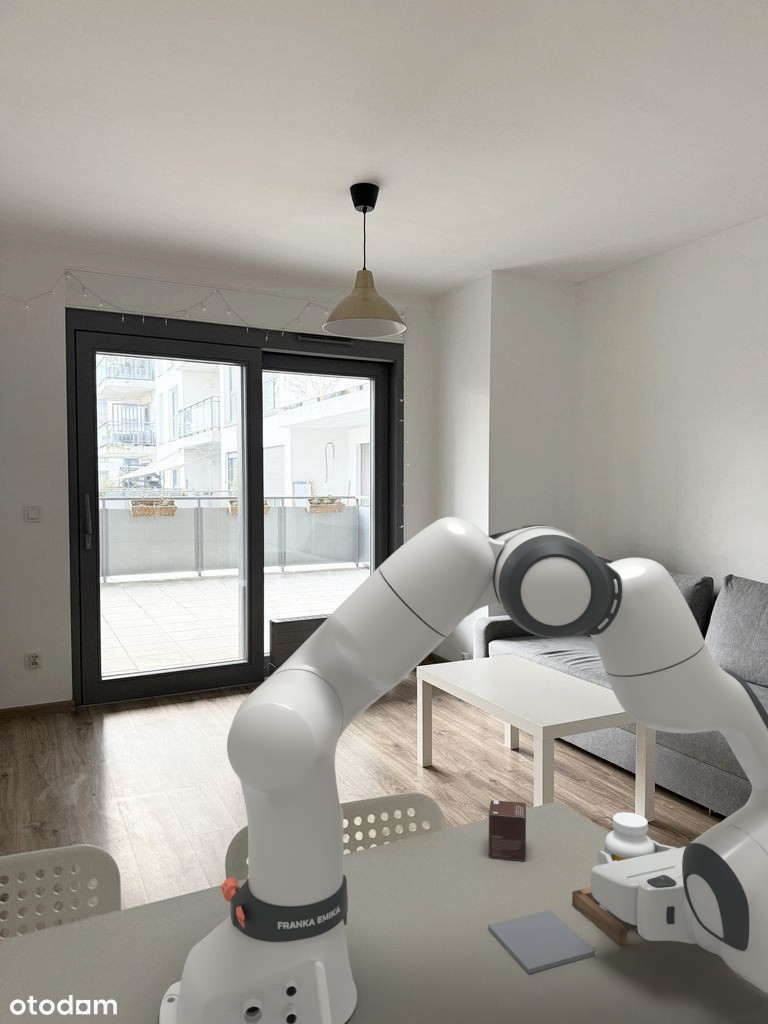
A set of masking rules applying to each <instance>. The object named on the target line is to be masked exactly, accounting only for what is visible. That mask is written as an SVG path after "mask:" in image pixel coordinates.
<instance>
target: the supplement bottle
mask: <svg viewBox="0 0 768 1024" xmlns="http://www.w3.org/2000/svg"><path fill="white" fill-rule="evenodd" d="M648 822H649V821H648V820H647V818H646V817H644V816H642V815H639V814H637V813H633V812H629V811H628V812H624V811H623V812H621V811H620V812H617V813H615V814H613V816H612V827H613V830H611V831H610V832H609V833H608V834H607V835H606V837H605V839H604V840H605V841H604V850H609V851H610V852H612V853H614V854H615V859H614V861H615V860H617V861H621V860H625V859H630V858H635V857H640V856H644V855H649V854H654V853H655V847H654V844H653V842H652V840H653V839H651V838H650V837H649V836H648V835H647V833H648V831H649V824H648ZM611 914H612V915H613V916H615V915H614V914H613V913H611Z"/></svg>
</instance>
